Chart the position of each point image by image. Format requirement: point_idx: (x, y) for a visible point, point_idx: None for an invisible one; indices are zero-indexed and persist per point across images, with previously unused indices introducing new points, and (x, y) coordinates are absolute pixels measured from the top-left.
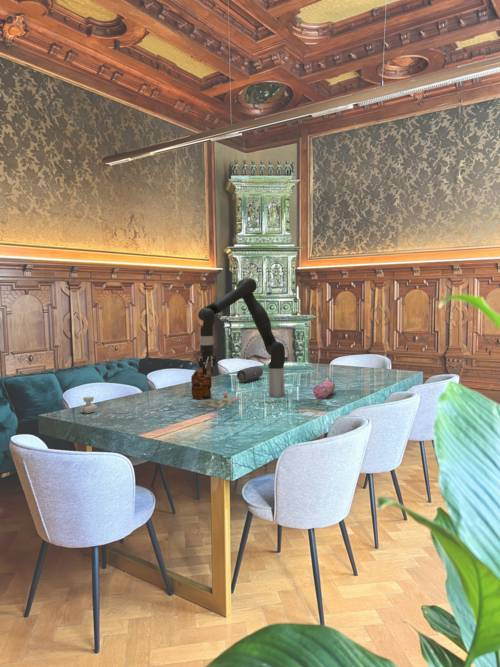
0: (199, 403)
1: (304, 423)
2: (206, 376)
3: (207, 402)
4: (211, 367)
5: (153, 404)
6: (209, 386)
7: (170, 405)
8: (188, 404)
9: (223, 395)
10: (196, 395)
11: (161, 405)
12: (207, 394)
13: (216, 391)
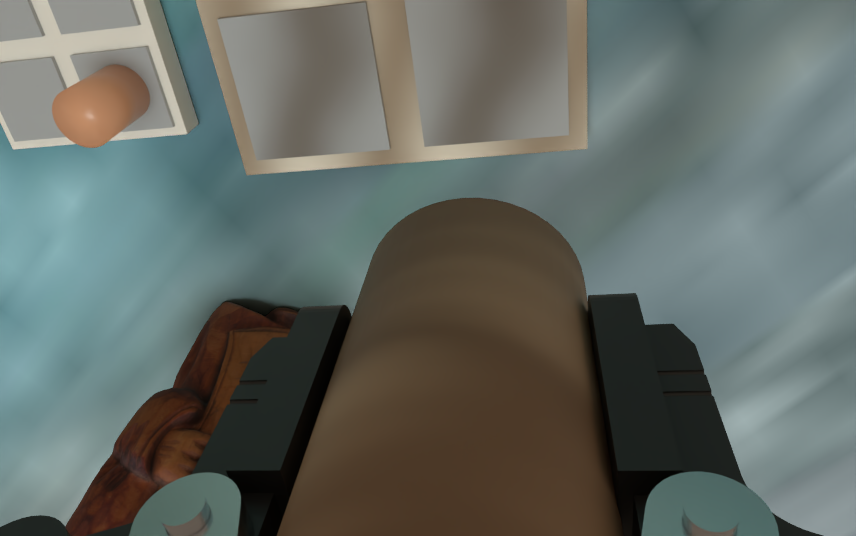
0: (586, 145)
1: None
2: (574, 262)
3: (511, 62)
4: (252, 467)
5: (826, 519)
6: (186, 401)
7: (786, 382)
8: (635, 269)
9: (132, 118)
10: None
11: (831, 445)
12: (261, 335)
13: (16, 449)
